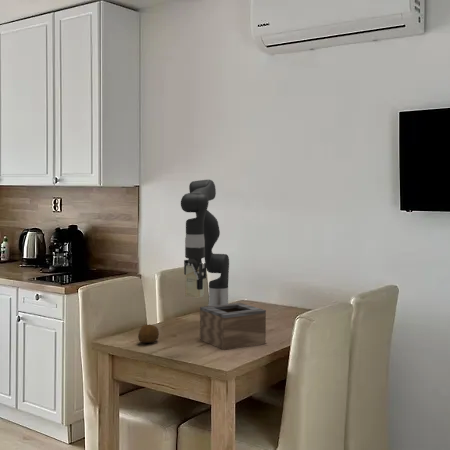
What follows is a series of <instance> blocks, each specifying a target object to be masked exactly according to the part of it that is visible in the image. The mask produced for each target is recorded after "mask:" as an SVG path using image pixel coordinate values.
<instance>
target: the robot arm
mask: <svg viewBox="0 0 450 450" xmlns="http://www.w3.org/2000/svg"><path fill="white" fill-rule="evenodd" d="M188 189H189V190H188V191H189V192H188V193H185V194H184V195H182V197H181V200H180V208H181V210H183V212H185V213H195V217H194V218H188V219H186V221H185V236H184V237H185V238H184V242H185V243H184V257H185V259H184V260H183V265H184V266H183V268H184V271H183V273H184V275H185V276H186V265H189V266H192V268H193V271H194V274H195V275H196V277H197V289H198V290H201V289H203V279H204V280H205V279H207V272H208V273H210V274H220V275H219V277H218V278H215V279H211V280H210V281H209V282H208V304H207V306H214V305H223V304H229V278H230V277H229V273H230V272H229V271H230V258H229V255H228V254H226V253H225V254H224V253H213V248H214V246H215V244H216V243H217V241H218V240H219V237H220V235H221V232H220V225H219V221H218V219H217V218H216V216H215V215H214V214H212V213H211V212H210V211H209V210H208V207H209V202H210V201H212V200H214V199H215V198H216V194H217V191H216V185H215V182H214V181H213V180H212V179H202V180H201V179H200V180H194V181H191V182H190V183H189V188H188ZM202 259H204V262H202ZM198 267H199V272H197V271H196V270H197V269H198ZM203 272H204V275H203ZM198 274H199V275H198Z"/></svg>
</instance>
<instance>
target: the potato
mask: <svg viewBox="0 0 450 450" xmlns="http://www.w3.org/2000/svg"><path fill="white" fill-rule="evenodd" d="M159 332H160V331H159V328H158V327H157V326H156V325H153V324H144V325H143V326H141V328H140V329H139V331H138V335H137V338H138V341H139V342H140V343H142V344H150V343H154V342H156V341H157V340H158V339H159V337H160V333H159Z"/></svg>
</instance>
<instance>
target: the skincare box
mask: <svg viewBox="0 0 450 450" xmlns="http://www.w3.org/2000/svg"><path fill="white" fill-rule="evenodd" d="M196 271H197V272H199V267H198V269H197V270H196ZM198 275H199V274H198ZM203 275H204V272H203ZM204 288H205V279H203V289H201V290H198V289H197V277H196V275H195V274H194V271H193V268H192V266H189V265H186V275H185V297H190V298H196V299H197V298H198V299H199V298H202V297H204V296H205V294H204V293H205V289H204Z"/></svg>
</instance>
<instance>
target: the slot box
mask: <svg viewBox="0 0 450 450" xmlns="http://www.w3.org/2000/svg"><path fill="white" fill-rule="evenodd" d="M266 312H267V310H266V309H263V308H259V307H256V306H253V305H250V304H245V303H242V302H235V303H228V304H223V305H214V306H208V305H207V306H205V305H204V306H200V307H199V339H200V341H202V342H205V343H206V344H210V345H211V346H214V347H215V348H219V349H221V350H223V351H227V350H232V349H233V350H235V349H239V348H245V347H246V348H247V347H252V346H261V345H265V344H266V341H267V340H266V337H267V336H266V335H267V334H266V332H267V329H266V328H267V327H266V325H267V322H266V321H267V319H266V317H267V314H266Z"/></svg>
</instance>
